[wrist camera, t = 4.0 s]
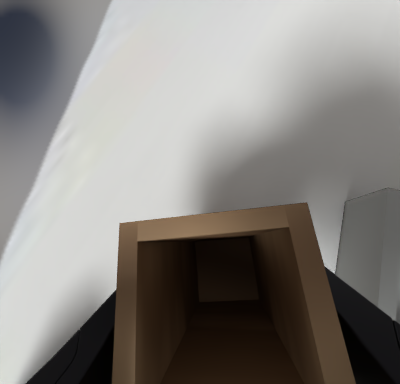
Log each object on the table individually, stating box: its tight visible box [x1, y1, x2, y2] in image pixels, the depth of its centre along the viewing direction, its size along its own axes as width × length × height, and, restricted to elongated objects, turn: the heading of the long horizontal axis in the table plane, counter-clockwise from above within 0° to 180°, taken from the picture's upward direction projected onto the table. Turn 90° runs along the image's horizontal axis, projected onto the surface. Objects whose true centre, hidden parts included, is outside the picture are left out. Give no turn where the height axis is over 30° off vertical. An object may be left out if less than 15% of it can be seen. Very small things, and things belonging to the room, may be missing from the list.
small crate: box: [112, 203, 356, 384], centre depth 9 cm, size 6×6×10 cm
